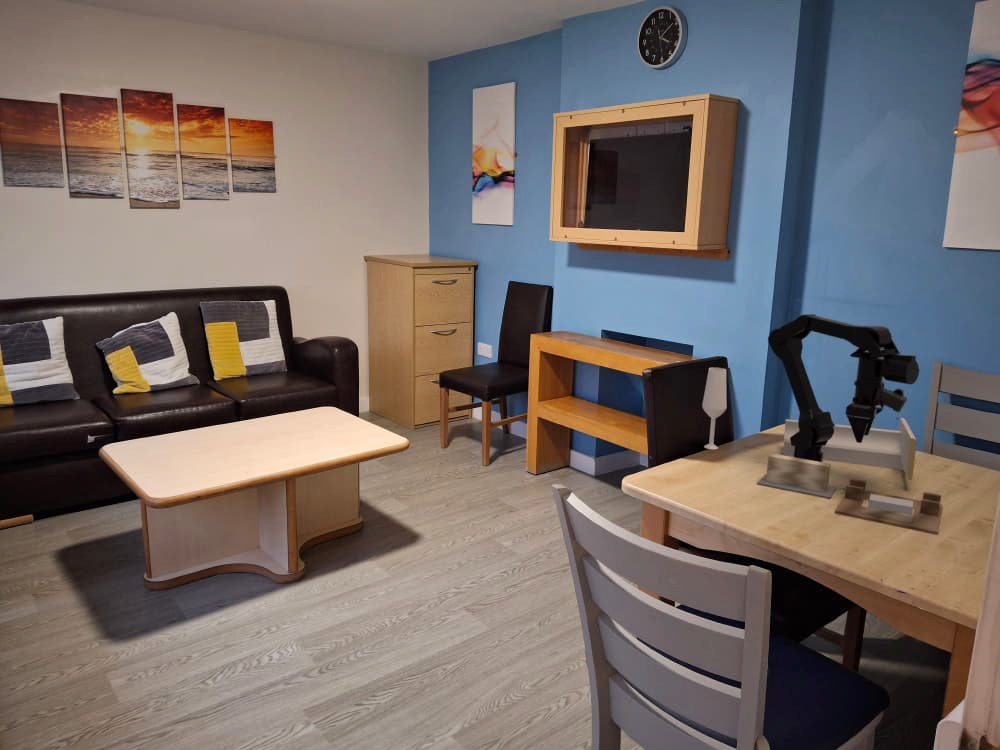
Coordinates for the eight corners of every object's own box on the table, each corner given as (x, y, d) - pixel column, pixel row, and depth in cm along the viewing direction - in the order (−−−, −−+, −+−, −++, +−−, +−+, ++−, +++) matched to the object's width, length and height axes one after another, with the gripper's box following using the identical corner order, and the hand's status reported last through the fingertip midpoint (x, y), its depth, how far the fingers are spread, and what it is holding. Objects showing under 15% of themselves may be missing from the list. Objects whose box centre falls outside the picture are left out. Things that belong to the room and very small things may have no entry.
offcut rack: (834, 513, 162) (836, 497, 162) (848, 489, 179) (849, 475, 178) (937, 534, 151) (940, 518, 151) (942, 507, 168) (944, 492, 167)
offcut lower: (860, 513, 161) (861, 505, 160) (863, 507, 165) (864, 499, 164) (911, 524, 155) (912, 516, 155) (913, 517, 159) (914, 509, 159)
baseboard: (911, 486, 178) (917, 438, 176) (898, 484, 179) (904, 437, 177) (901, 459, 206) (906, 418, 204) (889, 458, 207) (894, 417, 205)
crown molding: (906, 434, 199) (908, 428, 196) (906, 473, 194) (909, 468, 191) (785, 421, 210) (786, 415, 207) (782, 458, 205) (783, 452, 202)
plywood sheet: (766, 480, 182) (768, 456, 181) (768, 477, 185) (771, 453, 183) (825, 492, 175) (828, 466, 173) (827, 489, 177) (830, 463, 176)
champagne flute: (727, 453, 207) (734, 371, 203) (706, 453, 206) (712, 371, 202) (715, 446, 214) (722, 366, 209) (694, 447, 212) (701, 367, 208)
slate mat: (756, 484, 181) (756, 482, 180) (765, 475, 188) (765, 473, 188) (829, 498, 171) (830, 497, 171) (836, 488, 179) (836, 487, 179)
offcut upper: (868, 507, 160) (869, 499, 159) (869, 501, 163) (870, 493, 163) (912, 515, 156) (913, 507, 155) (911, 508, 159) (913, 501, 159)
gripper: (901, 387, 165) (893, 452, 168) (911, 376, 180) (903, 436, 183) (848, 381, 171) (841, 444, 174) (862, 371, 186) (855, 429, 189)
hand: (862, 438), depth 180 cm, fingers open, 9 cm apart
